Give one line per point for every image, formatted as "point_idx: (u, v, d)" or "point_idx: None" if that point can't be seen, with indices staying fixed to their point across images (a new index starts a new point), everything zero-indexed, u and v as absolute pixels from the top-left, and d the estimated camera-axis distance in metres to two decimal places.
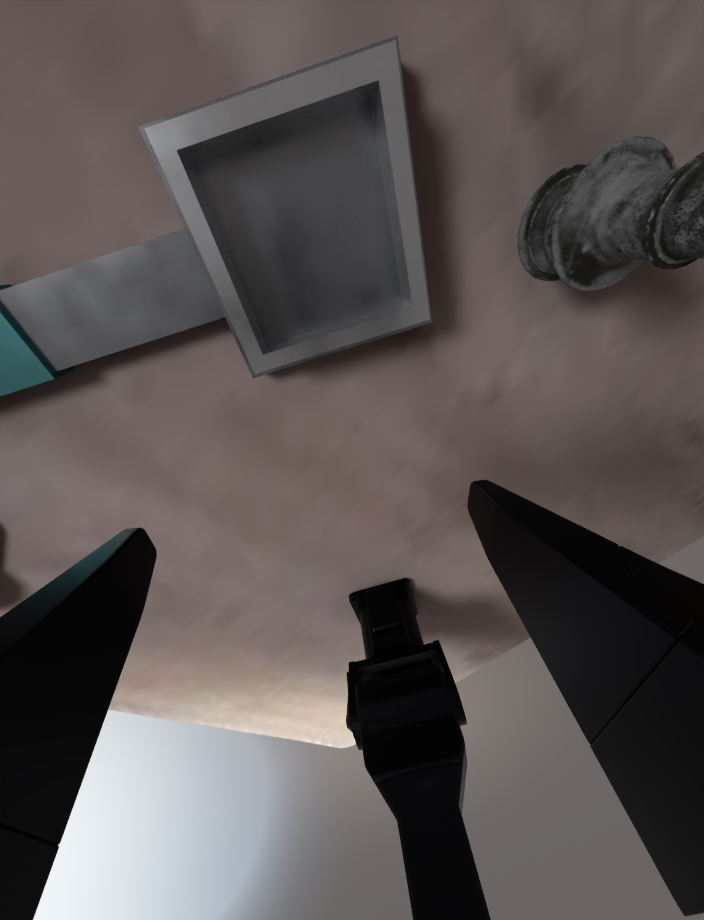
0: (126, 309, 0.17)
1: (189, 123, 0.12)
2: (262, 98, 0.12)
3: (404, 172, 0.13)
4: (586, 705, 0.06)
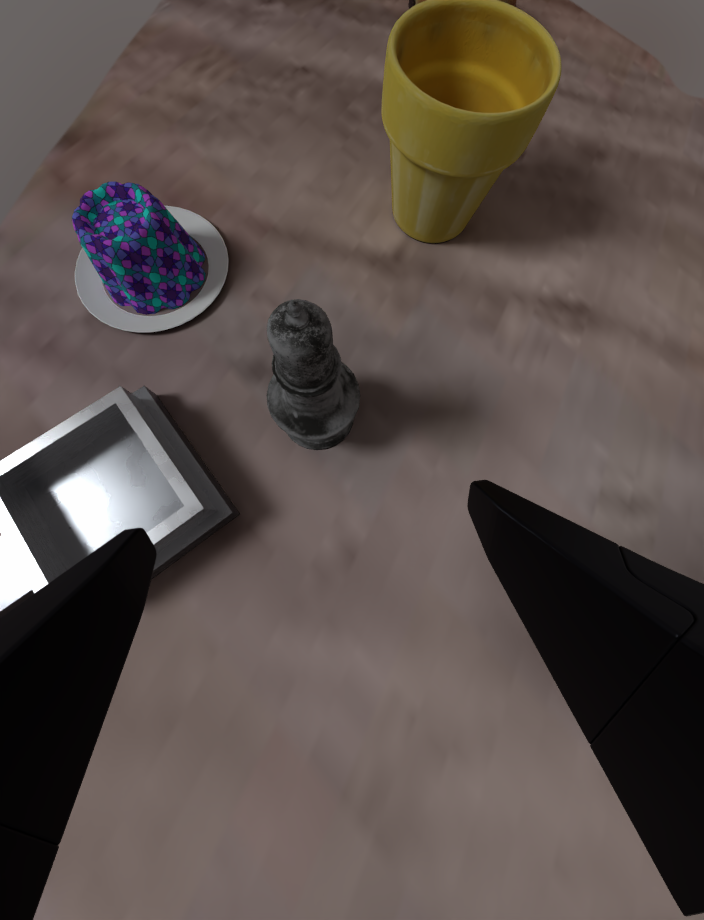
0: None
1: (0, 465, 0.19)
2: (46, 437, 0.19)
3: (145, 432, 0.20)
4: (586, 705, 0.06)
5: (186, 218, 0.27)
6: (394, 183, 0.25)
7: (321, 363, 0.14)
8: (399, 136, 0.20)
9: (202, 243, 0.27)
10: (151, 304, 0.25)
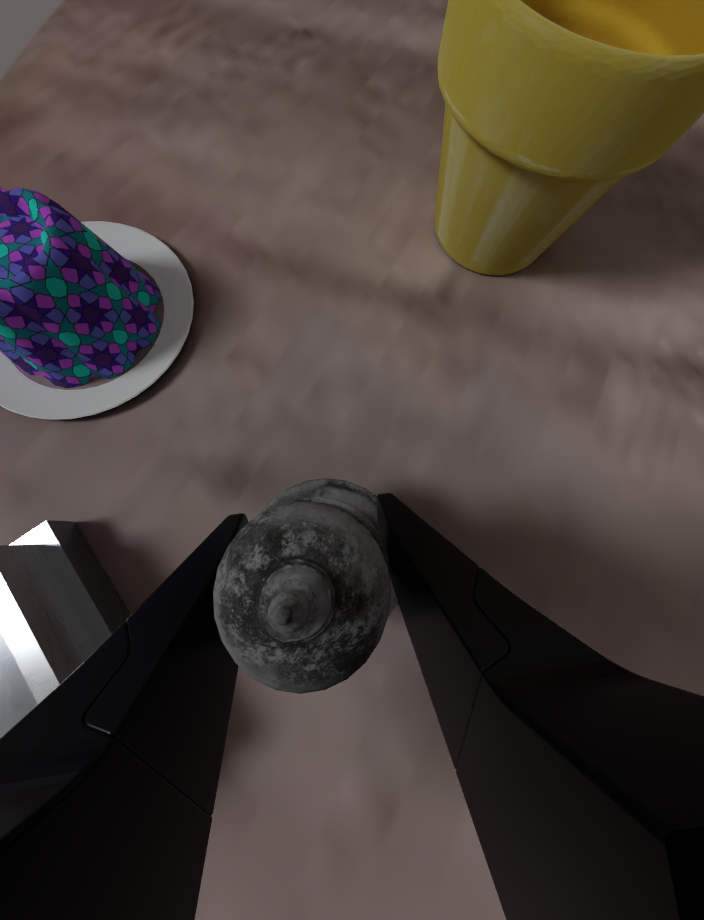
0: None
1: None
2: None
3: (23, 638, 0.11)
4: (448, 730, 0.06)
5: (132, 240, 0.19)
6: (446, 189, 0.16)
7: None
8: (475, 109, 0.12)
9: (155, 275, 0.18)
10: (72, 374, 0.16)
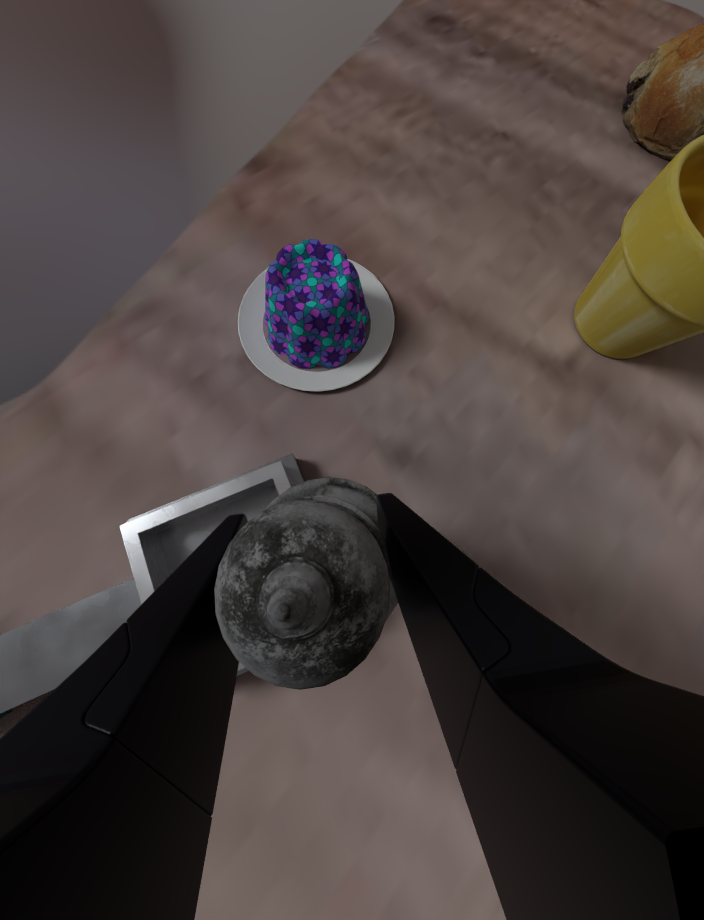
0: (75, 646, 0.19)
1: (149, 518, 0.18)
2: (198, 498, 0.19)
3: None
4: (449, 730, 0.06)
5: (357, 274, 0.26)
6: (598, 295, 0.23)
7: None
8: (645, 268, 0.18)
9: (368, 303, 0.26)
10: (310, 361, 0.24)
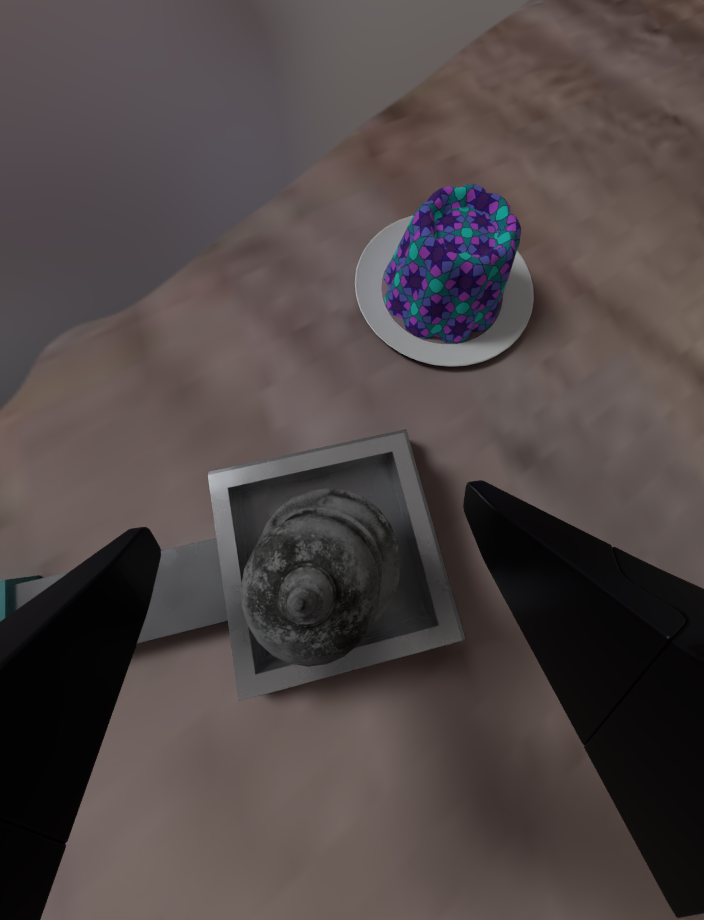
0: None
1: (243, 472, 0.15)
2: (302, 460, 0.15)
3: (417, 505, 0.15)
4: (580, 706, 0.06)
5: None
6: None
7: None
8: None
9: None
10: (430, 329, 0.20)
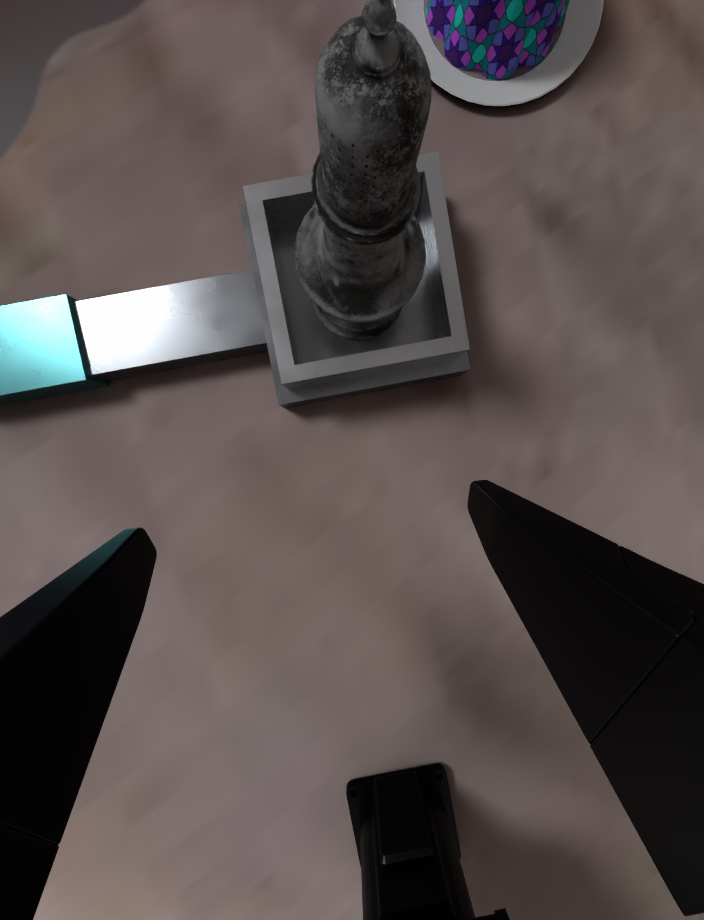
0: (179, 326, 0.18)
1: (277, 185, 0.16)
2: None
3: (443, 227, 0.16)
4: (586, 705, 0.06)
5: None
6: None
7: (401, 172, 0.09)
8: None
9: None
10: (472, 52, 0.18)
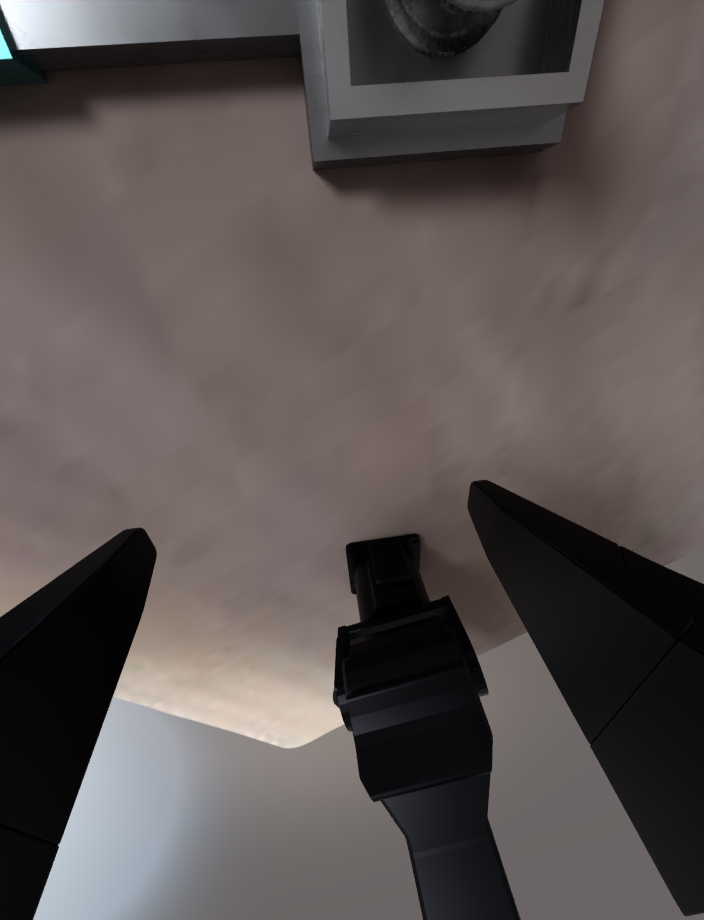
0: None
1: None
2: None
3: None
4: (586, 705, 0.06)
5: None
6: None
7: None
8: None
9: None
10: None
